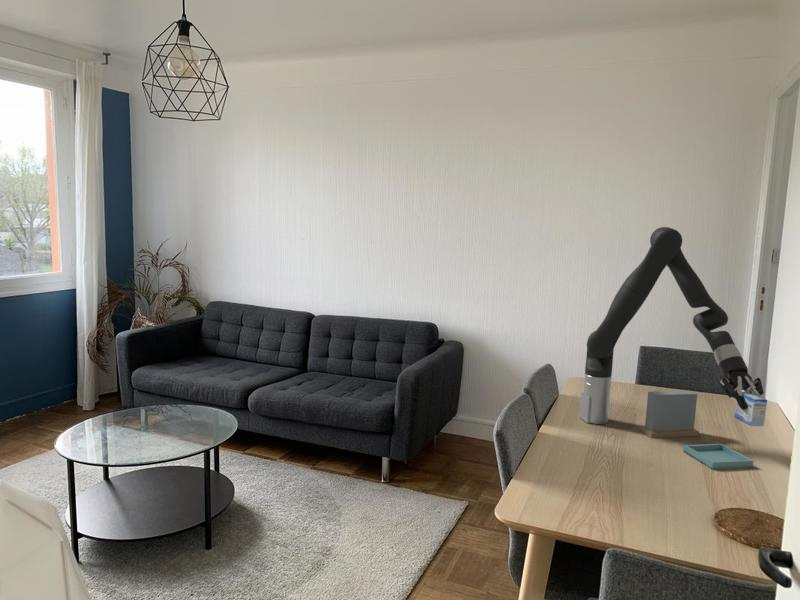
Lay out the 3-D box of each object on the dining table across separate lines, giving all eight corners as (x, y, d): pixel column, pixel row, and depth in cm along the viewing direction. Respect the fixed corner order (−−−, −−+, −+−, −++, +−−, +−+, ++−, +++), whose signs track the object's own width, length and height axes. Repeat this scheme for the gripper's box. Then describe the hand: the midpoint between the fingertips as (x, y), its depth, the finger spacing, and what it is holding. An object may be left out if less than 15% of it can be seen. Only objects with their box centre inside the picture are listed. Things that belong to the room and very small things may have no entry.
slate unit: (651, 437, 201) (654, 396, 199) (639, 430, 208) (643, 390, 206) (698, 435, 204) (702, 395, 202) (685, 428, 211) (689, 389, 209)
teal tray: (712, 469, 176) (712, 462, 175) (683, 451, 189) (683, 445, 189) (752, 467, 178) (753, 460, 178) (721, 450, 191) (721, 443, 191)
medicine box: (733, 417, 189) (737, 391, 187) (746, 417, 189) (750, 391, 188) (750, 426, 181) (754, 399, 180) (764, 426, 181) (767, 399, 180)
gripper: (717, 355, 189) (739, 403, 179) (756, 355, 192) (780, 402, 182) (704, 366, 195) (725, 414, 185) (742, 366, 198) (765, 413, 188)
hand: (752, 408), depth 184 cm, fingers closed on medicine box, 4 cm apart
